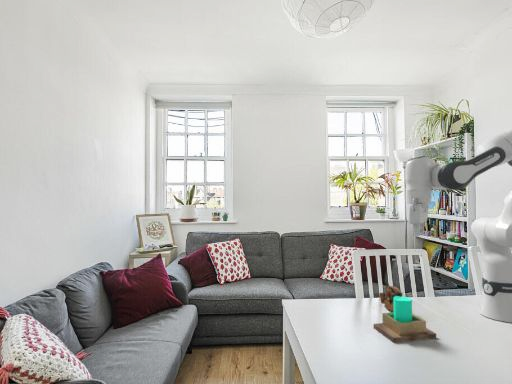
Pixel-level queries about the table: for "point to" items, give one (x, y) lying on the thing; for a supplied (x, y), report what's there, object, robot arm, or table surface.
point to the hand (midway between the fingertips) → (419, 234)
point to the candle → (402, 309)
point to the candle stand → (403, 329)
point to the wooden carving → (389, 296)
